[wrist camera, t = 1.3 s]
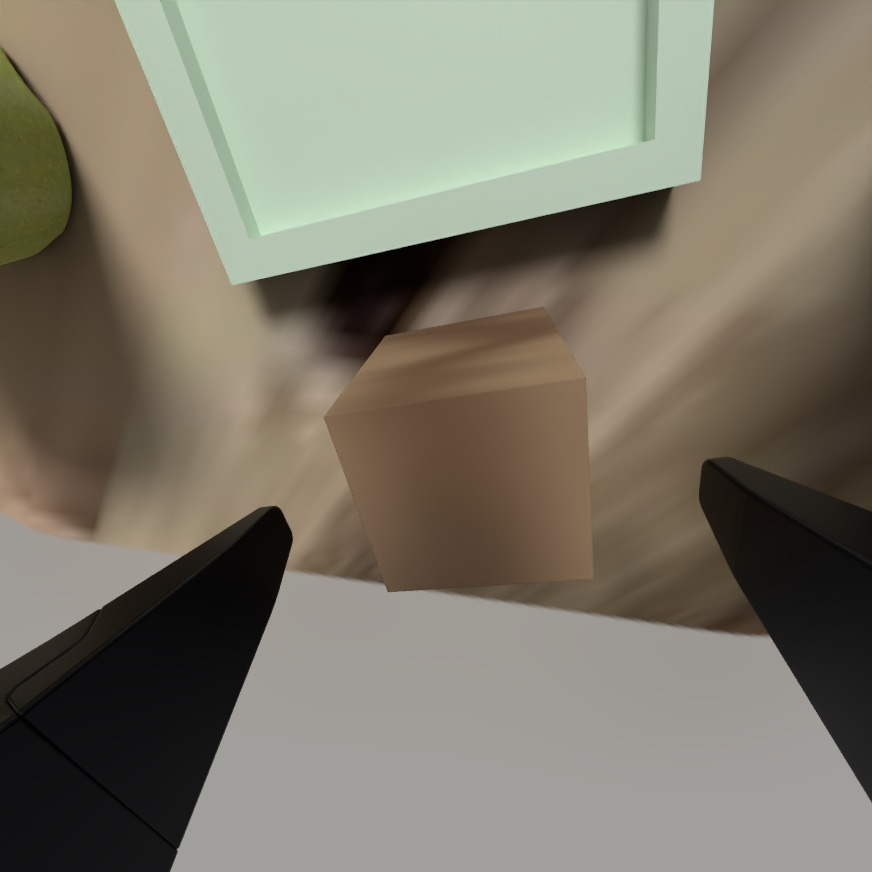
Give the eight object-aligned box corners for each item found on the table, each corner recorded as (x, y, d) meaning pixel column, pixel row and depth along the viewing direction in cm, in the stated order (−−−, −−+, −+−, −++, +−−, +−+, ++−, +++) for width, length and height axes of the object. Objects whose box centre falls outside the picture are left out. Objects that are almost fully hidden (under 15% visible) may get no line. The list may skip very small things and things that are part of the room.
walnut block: (543, 306, 13) (585, 377, 7) (554, 447, 15) (593, 579, 10) (385, 335, 13) (323, 417, 8) (419, 464, 16) (387, 591, 10)
